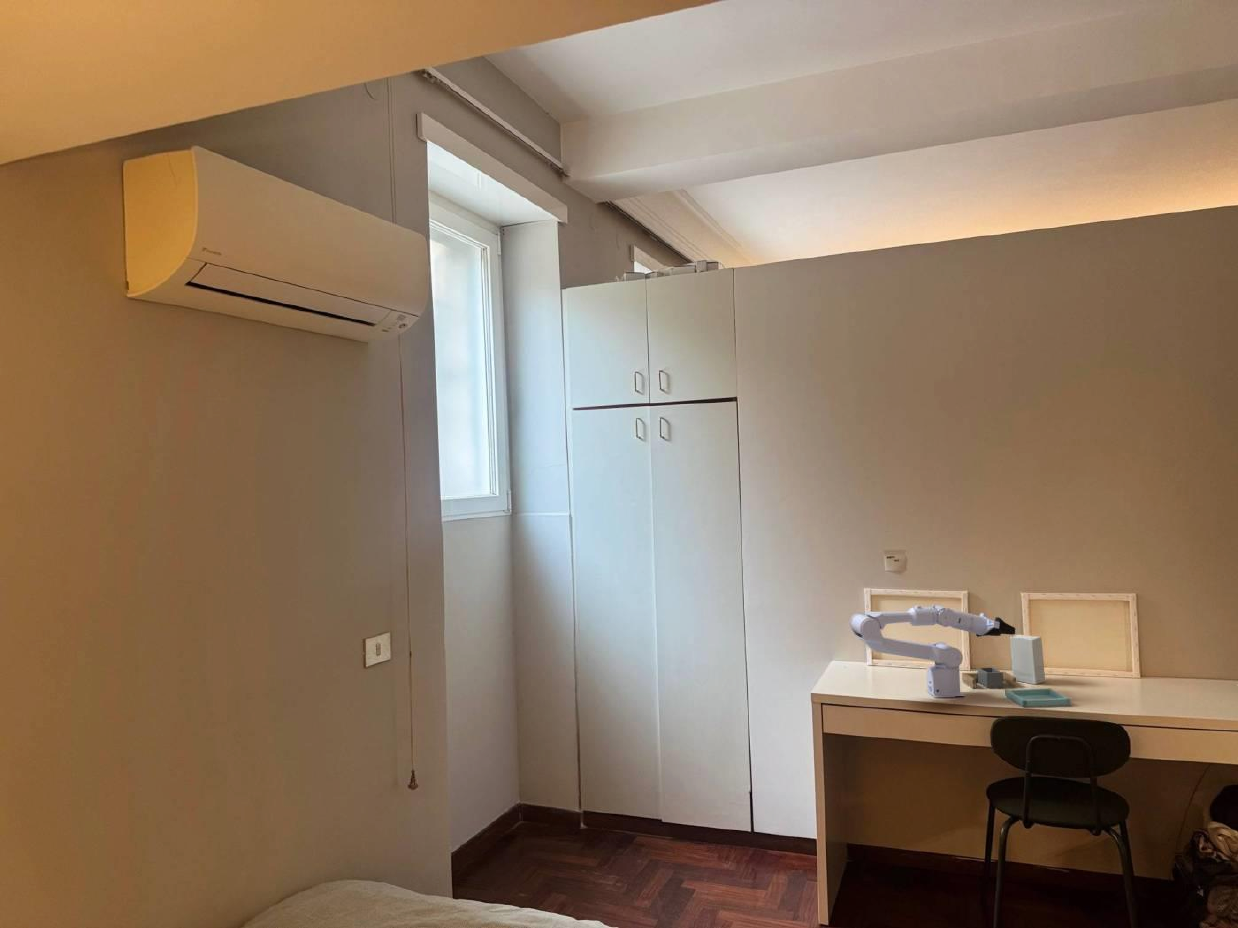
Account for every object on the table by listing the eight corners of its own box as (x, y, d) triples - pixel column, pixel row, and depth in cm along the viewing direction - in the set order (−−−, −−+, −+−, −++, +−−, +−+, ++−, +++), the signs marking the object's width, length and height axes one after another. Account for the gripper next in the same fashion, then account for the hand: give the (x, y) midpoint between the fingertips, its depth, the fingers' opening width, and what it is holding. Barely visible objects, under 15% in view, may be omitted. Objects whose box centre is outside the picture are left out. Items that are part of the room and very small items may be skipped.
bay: (972, 688, 269) (972, 679, 269) (962, 681, 277) (962, 672, 277) (1016, 687, 268) (1016, 677, 268) (1004, 680, 277) (1004, 671, 277)
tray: (1023, 707, 247) (1023, 700, 247) (1005, 696, 259) (1004, 689, 259) (1070, 705, 247) (1070, 699, 247) (1050, 694, 259) (1050, 688, 259)
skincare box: (1045, 681, 273) (1043, 636, 273) (1035, 685, 270) (1033, 639, 270) (1021, 677, 280) (1019, 633, 280) (1011, 680, 277) (1009, 635, 277)
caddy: (987, 688, 268) (986, 672, 268) (978, 682, 275) (977, 667, 275) (1002, 687, 268) (1002, 672, 268) (993, 682, 275) (992, 667, 275)
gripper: (981, 607, 258) (1022, 617, 260) (956, 611, 272) (995, 621, 273) (979, 630, 256) (1020, 640, 258) (954, 633, 270) (993, 642, 271)
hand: (1007, 631), depth 265 cm, fingers open, 7 cm apart
